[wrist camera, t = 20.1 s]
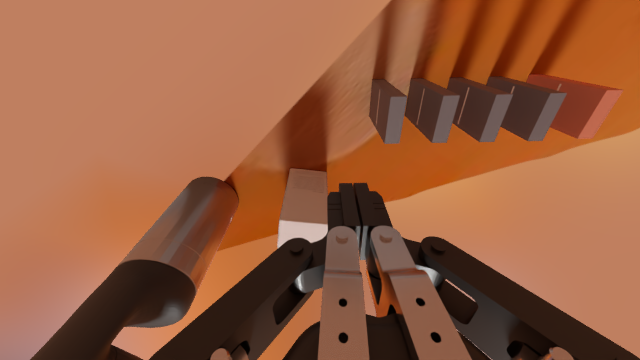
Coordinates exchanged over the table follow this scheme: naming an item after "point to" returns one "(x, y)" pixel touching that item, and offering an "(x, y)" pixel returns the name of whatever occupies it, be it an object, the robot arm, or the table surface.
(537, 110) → the domino
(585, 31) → the table surface
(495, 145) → the table surface
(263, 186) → the table surface
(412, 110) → the domino
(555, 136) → the table surface
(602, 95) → the domino
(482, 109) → the domino
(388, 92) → the domino
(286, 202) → the small box
